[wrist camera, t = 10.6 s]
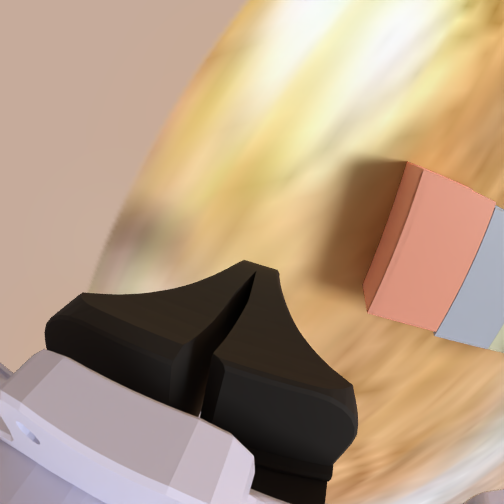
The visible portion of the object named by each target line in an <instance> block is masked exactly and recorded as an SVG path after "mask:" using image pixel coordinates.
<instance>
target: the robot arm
mask: <svg viewBox="0 0 504 504" xmlns="http://www.w3.org/2000/svg"><path fill="white" fill-rule="evenodd" d="M45 342H46V348H47V350H45V349H43V350H41V351H39V352H38V353H36V354H34V355H33V356H32V357H31V358H30V359H28V360H27V361H26V362H25V363H24V364H23V365H22V366H21V367H20V368H19V369H18V370H17V371H16V372H15V373H13V372H11V371H10V370H9V369H8V368H6V367H5V366H4V365H3V364H1V363H0V504H326V503H325V497H326V488H327V481H329V480H330V479H331V477H332V472H333V464H334V463H335V462H336V461H337V459H338V458H339V457H340V456H341V455H342V454H343V453H344V452H345V451H346V449H347V448H348V447H349V446H350V445H351V444H352V442H353V440H354V439H355V437H356V435H357V429H358V412H357V405H356V399H355V395H354V390H353V385H352V384H351V383H349V382H348V381H347V380H346V379H344V378H343V377H342V376H341V375H339V374H338V373H337V372H336V371H334V370H333V369H332V368H331V367H330V366H329V365H328V364H327V363H326V362H325V361H324V360H323V359H322V358H321V357H319V356H318V354H317V353H316V352H315V351H314V350H313V349H312V348H311V346H310V345H309V344H308V343H307V341H306V340H305V339H304V337H303V336H302V335H301V333H300V332H299V330H298V328H297V327H296V325H295V323H294V321H293V319H292V317H291V315H290V312H289V310H288V308H287V305H286V302H285V299H284V296H283V293H282V289H281V285H280V279H279V272H278V270H275V269H272V268H269V267H265V266H262V265H259V264H256V263H252V262H249V261H246V260H243V261H241V262H239V263H237V264H235V265H233V266H231V267H229V268H228V269H226V270H224V271H222V272H220V273H217V274H215V275H213V276H211V277H208V278H206V279H203V280H201V281H198V282H195V283H193V284H189V285H186V286H182V287H178V288H174V289H170V290H164V291H157V292H151V293H142V294H123V295H112V294H94V293H82V294H80V295H79V296H77V297H76V298H75V299H74V300H72V301H71V302H70V303H69V304H67V305H66V306H65V307H64V308H62V309H61V310H60V311H59V312H57V313H56V314H55V315H54V316H53V317H51V318H50V320H49V321H48V322H47V324H46V328H45ZM463 504H504V489H500V490H493V491H486V492H482V493H479V494H477V495H475V496H473V497H471V498H470V499H468V500H467V501H466V502H464V503H463Z"/></svg>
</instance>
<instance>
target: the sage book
mask: <svg viewBox="0 0 504 504" xmlns="http://www.w3.org/2000/svg"><path fill="white" fill-rule="evenodd" d="M488 349H489V350H493V351H498V352H502V353H504V324H503V326H502V327H501V329H500V330H499V332H498V334H497V335H496V337H495V338H494V340H493V342H492V343H491V345H490V346H489V348H488Z"/></svg>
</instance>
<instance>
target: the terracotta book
mask: <svg viewBox="0 0 504 504" xmlns="http://www.w3.org/2000/svg"><path fill="white" fill-rule="evenodd" d="M495 205H496V202H495V201H493V200H491V199H489V198H487V197H485V196H483V195H481V194H479V193H477V192H475V191H473V189H471V188H469V187H467V186H465V185H462V184H460V183H458V182H456V181H454V180H451V179H449V178H447V177H444V176H442V175H440V174H437V173H435V172H433V171H430V170H428V169H425V168H423V167H420V166H418V165H415V164H413V163H410V162H407V163H406V167H405V170H404V173H403V176H402V179H401V183H400V186H399V189H398V192H397V195H396V198H395V201H394V204H393V207H392V209H391V212H390V215H389V218H388V221H387V224H386V226H385V229H384V232H383V234H382V237H381V240H380V242H379V245H378V248H377V250H376V253H375V255H374V258H373V260H372V263H371V265H370V268H369V270H368V273H367V275H366V277H365V280H364V282H363V290H364V296H365V302H366V308H367V313H369V314H372V315H376V316H380V317H383V318H387V319H390V320H394V321H398V322H401V323H405V324H409V325H412V326H416V327H420V328H424V329H427V330H431V331H435V332H436V331H437V329H438V328H439V326H440V324H441V322H442V321H443V319H444V317H445V315H446V313H447V312H448V310H449V308H450V306H451V304H452V302H453V301H454V299H455V297H456V295H457V293H458V291H459V289H460V287H461V285H462V283H463V281H464V279H465V277H466V275H467V273H468V271H469V268H470V266H471V264H472V262H473V260H474V258H475V255H476V253H477V251H478V248H479V246H480V244H481V241H482V239H483V236H484V234H485V232H486V229H487V226H488V224H489V221H490V219H491V216H492V213H493V211H494V208H495Z"/></svg>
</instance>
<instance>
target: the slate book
mask: <svg viewBox="0 0 504 504" xmlns="http://www.w3.org/2000/svg"><path fill="white" fill-rule="evenodd" d="M503 324H504V209H502V208H500V207H498V206H496V205H495V208H494V211H493V213H492V216H491V219H490V221H489V224H488V226H487V229H486V232H485V234H484V236H483V239H482V241H481V244H480V246H479V248H478V251H477V253H476V255H475V258H474V260H473V262H472V264H471V266H470V268H469V271H468V273H467V275H466V277H465V279H464V281H463V283H462V285H461V287H460V289H459V291H458V293H457V295H456V297H455V299H454V301H453V302H452V304H451V306H450V308H449V310H448V312H447V313H446V315H445V317H444V319H443V321H442V322H441V324H440V326H439V328H438V329H437V331H436V332H435V331H434V332H433V333H434V336H437V337H441V338H444V339H448V340H452V341H456V342H460V343H464V344H468V345H472V346H476V347H481V348H485V349H488V348H489V346H490V345H491V343H492V342H493V340H494V338H495V337H496V335H497V334H498V332H499V330H500V329H501V327H502V326H503Z"/></svg>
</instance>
